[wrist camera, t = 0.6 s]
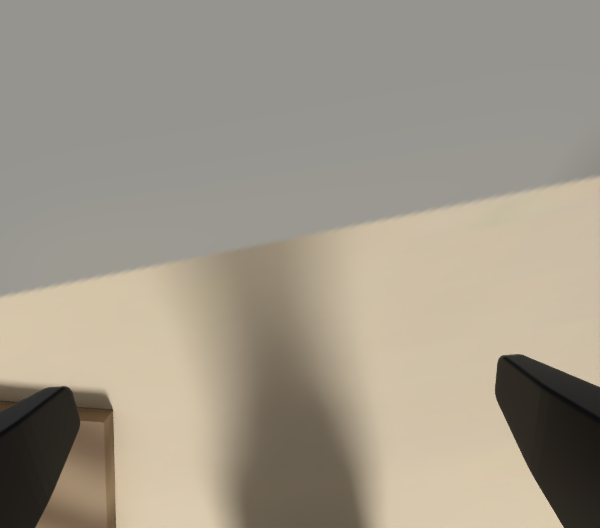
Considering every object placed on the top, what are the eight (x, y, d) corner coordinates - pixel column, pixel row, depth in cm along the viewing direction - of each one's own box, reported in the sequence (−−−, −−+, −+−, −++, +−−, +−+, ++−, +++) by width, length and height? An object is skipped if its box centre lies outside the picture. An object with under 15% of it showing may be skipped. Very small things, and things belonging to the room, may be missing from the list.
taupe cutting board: (117, 582, 29) (109, 600, 27) (-85, 568, 28) (-101, 585, 27) (112, 410, 25) (103, 422, 24) (-117, 391, 25) (-138, 403, 24)
